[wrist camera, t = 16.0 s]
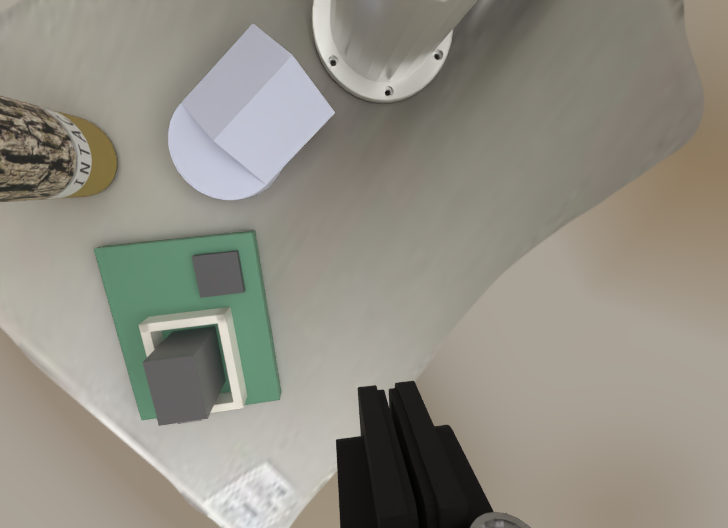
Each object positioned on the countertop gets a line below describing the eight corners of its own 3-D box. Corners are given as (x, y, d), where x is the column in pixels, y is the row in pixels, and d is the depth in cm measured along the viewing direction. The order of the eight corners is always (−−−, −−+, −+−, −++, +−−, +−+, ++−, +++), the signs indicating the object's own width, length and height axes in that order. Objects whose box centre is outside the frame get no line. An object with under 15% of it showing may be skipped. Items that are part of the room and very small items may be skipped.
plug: (173, 331, 34) (142, 362, 28) (215, 326, 34) (193, 355, 28) (187, 392, 35) (161, 433, 30) (227, 386, 36) (209, 426, 30)
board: (103, 245, 33) (78, 253, 29) (254, 230, 34) (247, 235, 31) (148, 411, 37) (131, 434, 34) (281, 391, 38) (277, 411, 35)
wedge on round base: (260, 40, 30) (162, 147, 31) (243, 1, 24) (120, 138, 25) (333, 119, 33) (240, 217, 34) (337, 104, 26) (220, 226, 27)
